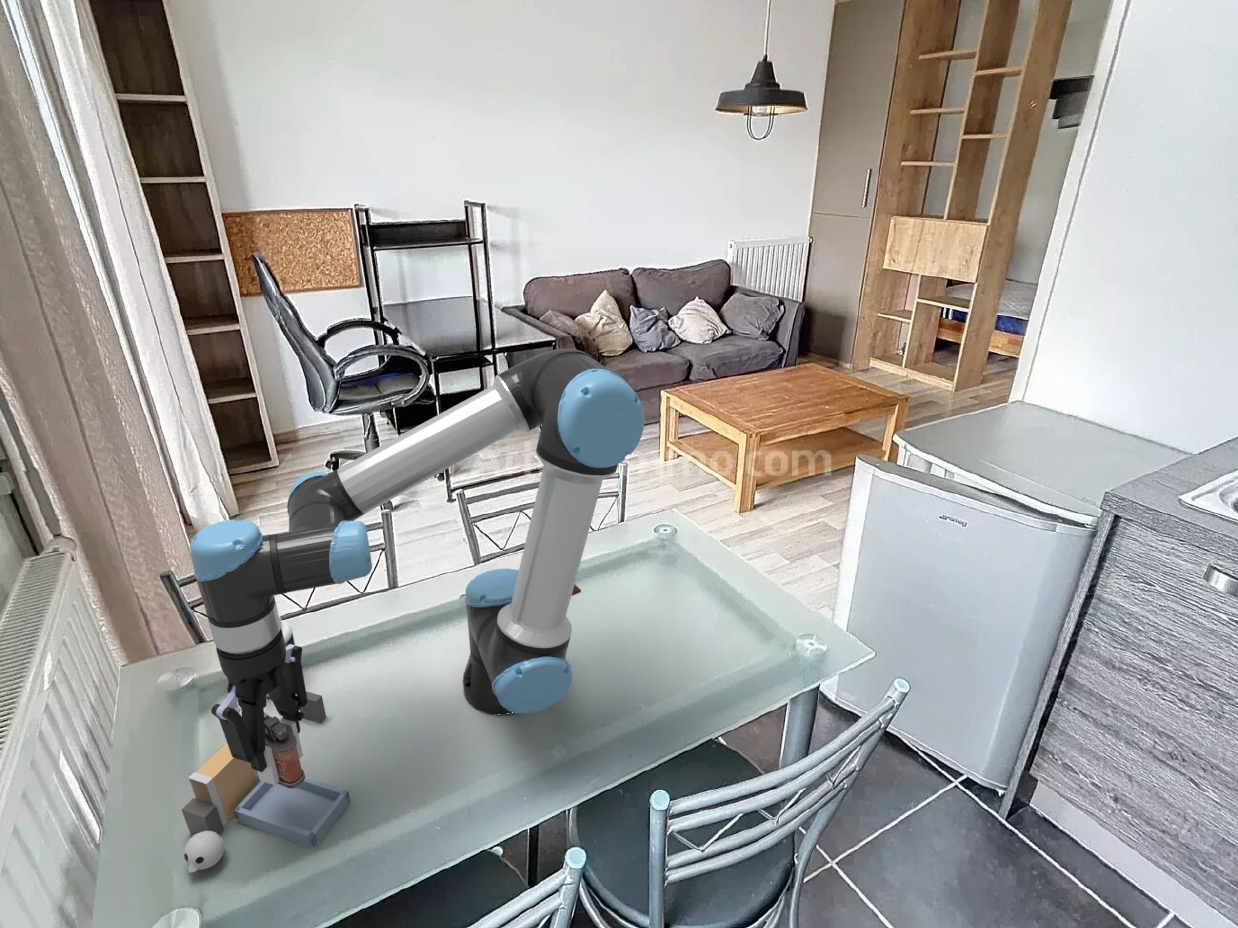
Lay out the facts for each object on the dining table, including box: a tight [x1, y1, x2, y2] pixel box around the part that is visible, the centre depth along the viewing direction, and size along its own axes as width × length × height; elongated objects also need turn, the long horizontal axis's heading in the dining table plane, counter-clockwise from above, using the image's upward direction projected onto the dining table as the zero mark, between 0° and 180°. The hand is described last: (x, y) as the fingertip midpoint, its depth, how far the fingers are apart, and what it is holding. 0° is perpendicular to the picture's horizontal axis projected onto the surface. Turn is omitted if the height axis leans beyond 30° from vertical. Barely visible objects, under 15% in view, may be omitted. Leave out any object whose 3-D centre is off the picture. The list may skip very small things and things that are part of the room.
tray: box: [234, 776, 351, 849], centre depth 100 cm, size 13×8×2 cm, turn 73°
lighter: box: [264, 711, 306, 789], centre depth 94 cm, size 8×3×10 cm, turn 58°
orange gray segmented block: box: [181, 690, 327, 836], centre depth 104 cm, size 4×24×9 cm, turn 163°
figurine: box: [183, 831, 225, 873], centre depth 92 cm, size 5×5×5 cm
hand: (281, 767), depth 96 cm, fingers closed on lighter, 4 cm apart
